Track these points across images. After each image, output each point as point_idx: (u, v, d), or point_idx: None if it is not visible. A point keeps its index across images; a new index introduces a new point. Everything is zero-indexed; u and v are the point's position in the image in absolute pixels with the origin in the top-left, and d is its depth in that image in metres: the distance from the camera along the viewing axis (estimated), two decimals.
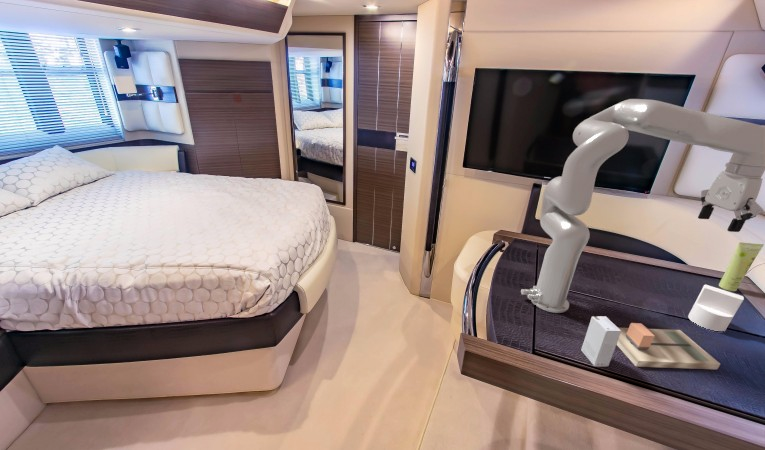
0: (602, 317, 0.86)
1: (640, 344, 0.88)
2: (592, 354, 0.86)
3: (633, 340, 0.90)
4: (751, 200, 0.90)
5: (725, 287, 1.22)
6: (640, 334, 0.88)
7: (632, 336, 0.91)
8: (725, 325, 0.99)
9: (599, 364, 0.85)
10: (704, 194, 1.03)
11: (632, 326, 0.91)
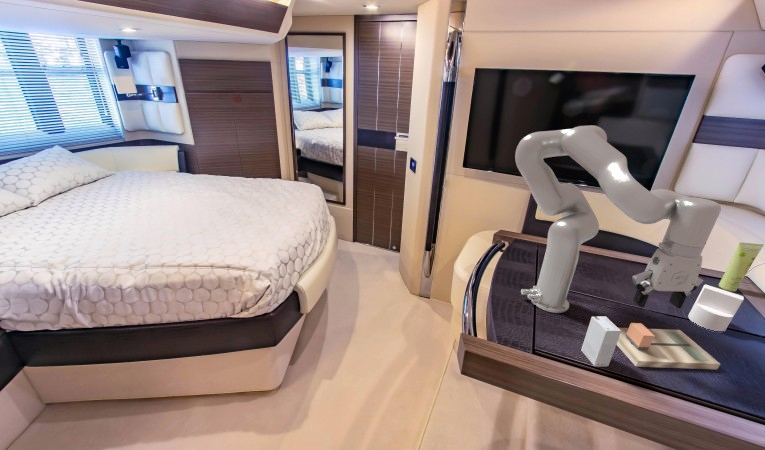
0: (602, 317, 0.86)
1: (640, 344, 0.88)
2: (592, 355, 0.86)
3: (633, 340, 0.90)
4: None
5: (725, 287, 1.22)
6: (640, 334, 0.88)
7: (632, 336, 0.91)
8: (725, 325, 0.99)
9: (599, 364, 0.85)
10: (639, 281, 0.82)
11: (632, 326, 0.91)
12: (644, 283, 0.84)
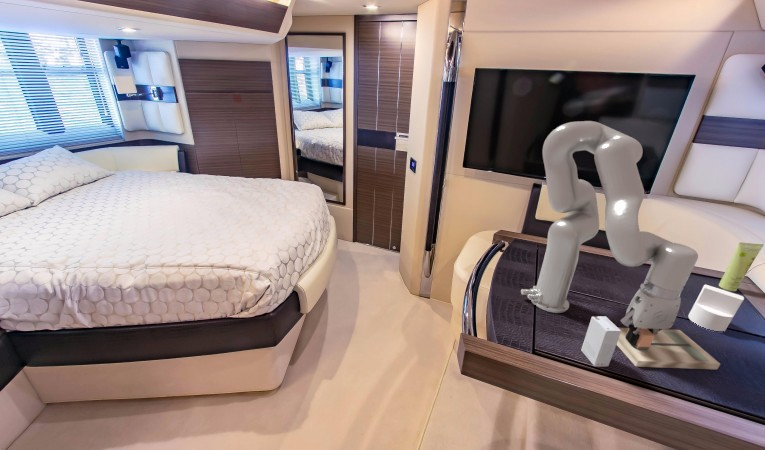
0: (602, 317, 0.86)
1: (640, 344, 0.88)
2: (592, 355, 0.86)
3: None
4: None
5: (725, 287, 1.22)
6: (640, 334, 0.88)
7: None
8: (725, 325, 0.99)
9: (599, 364, 0.85)
10: (628, 323, 0.88)
11: None
12: None
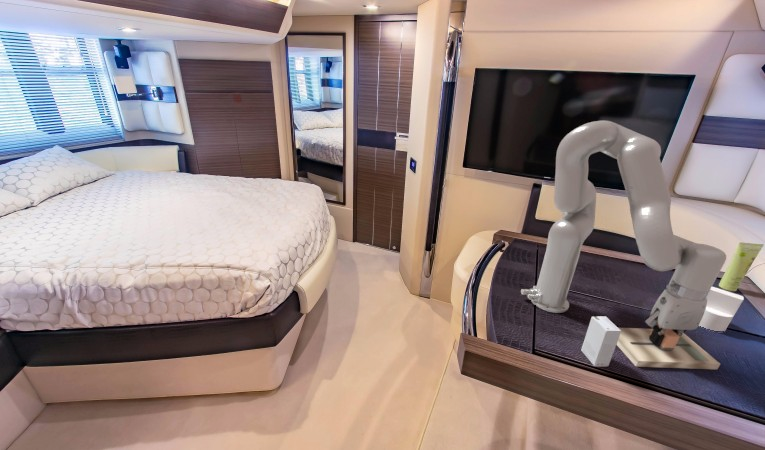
0: (602, 317, 0.86)
1: (665, 345, 0.88)
2: (592, 354, 0.86)
3: None
4: None
5: (725, 287, 1.22)
6: (665, 335, 0.88)
7: None
8: (725, 325, 0.99)
9: (599, 364, 0.85)
10: (653, 324, 0.88)
11: None
12: (658, 323, 0.89)
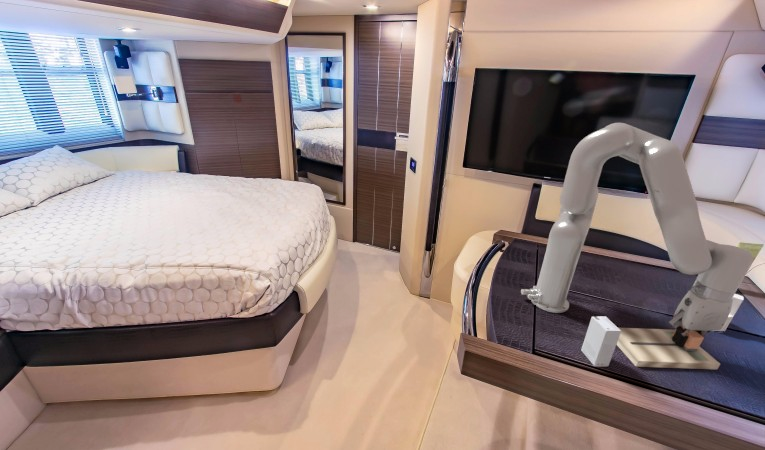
0: (602, 317, 0.86)
1: (688, 346, 0.88)
2: (592, 354, 0.86)
3: None
4: None
5: None
6: (689, 336, 0.88)
7: None
8: (725, 325, 0.99)
9: (599, 364, 0.85)
10: (677, 325, 0.88)
11: None
12: (681, 324, 0.89)
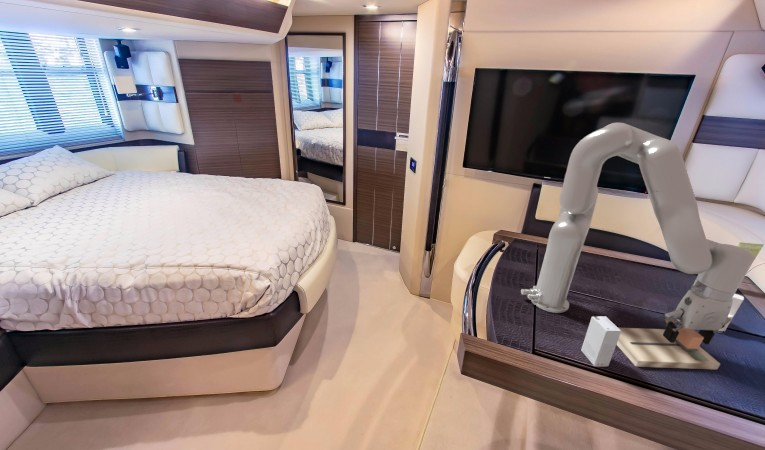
0: (602, 317, 0.86)
1: (688, 346, 0.88)
2: (592, 354, 0.86)
3: (680, 342, 0.90)
4: None
5: None
6: (689, 336, 0.88)
7: (680, 338, 0.91)
8: (725, 325, 0.99)
9: (599, 364, 0.85)
10: (671, 319, 0.87)
11: None
12: (675, 320, 0.89)
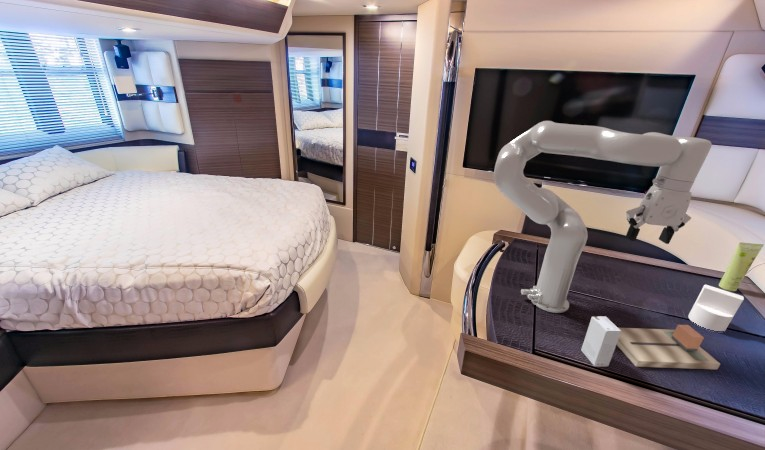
0: (602, 317, 0.86)
1: (688, 346, 0.88)
2: (592, 355, 0.86)
3: (680, 342, 0.90)
4: None
5: (725, 287, 1.22)
6: (689, 336, 0.88)
7: (680, 338, 0.91)
8: (725, 325, 0.99)
9: (599, 364, 0.85)
10: (633, 215, 0.90)
11: (679, 328, 0.91)
12: (637, 219, 0.92)
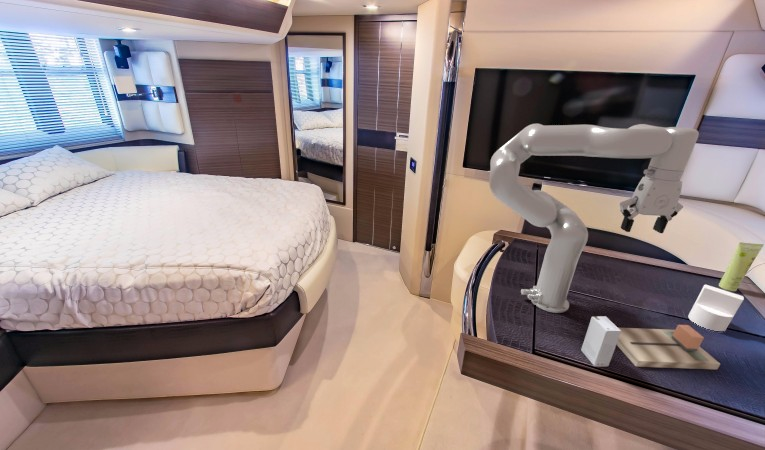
0: (602, 317, 0.86)
1: (688, 346, 0.88)
2: (592, 355, 0.86)
3: (680, 342, 0.90)
4: None
5: (725, 287, 1.22)
6: (689, 336, 0.88)
7: (680, 338, 0.91)
8: (725, 325, 0.99)
9: (599, 364, 0.85)
10: (626, 207, 0.91)
11: (679, 328, 0.91)
12: (630, 210, 0.93)
